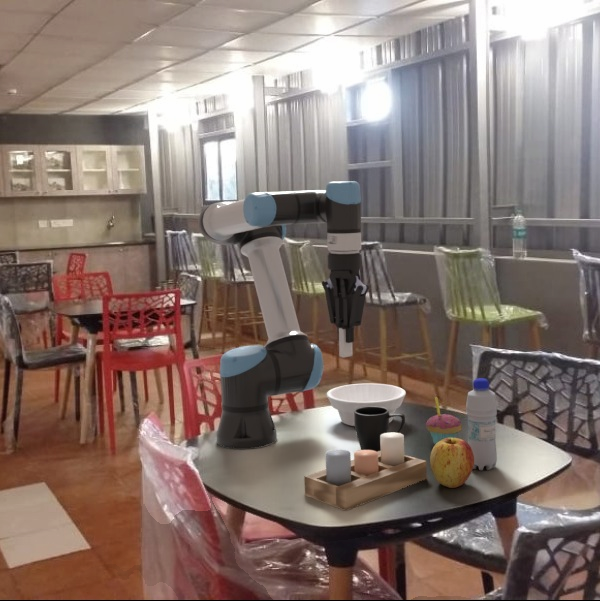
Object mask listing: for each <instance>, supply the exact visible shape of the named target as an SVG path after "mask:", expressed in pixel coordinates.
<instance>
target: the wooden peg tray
mask: <svg viewBox="0 0 600 601" xmlns="http://www.w3.org/2000/svg"><path fill="white" fill-rule="evenodd" d="M378 467H379V472H377V473H374V474H371V475H368V476H365V475H362V474H359V473H356V472H355V470H354V459H352V460H351V482H349V483H346V484H344V485H341V486H336V485H333V484H330V483H327V481H326V468H325V469H322V470H319V471H317V472H313V473H310V474H307V475H305V476H304V475H303V476H304V479H303V480H304V496H307V497H309V498H312V499H314V500H317V501H319V502H322V503H325V504H326V505H330V506H333V507H334V508H337V509H341V510H344V511H349V510H351V509H353V508H354V509H355V508H356V507H359V506H362V505H365V504H366V503H367V504H368V503H369V502H372V501H374V500H376V499H379V498H382V497H384V496H388V495H389V494H390V495H391V494H393V493H395V492H398V491H400V490H403V489H404V488H407V486H408V487H410V486H413V485H415V484H418V483H420V482H419V481H421V482H422V480H423V481H426V480H427V474H428V473H427V460H424V459H421V458H417V457H413V456H410V455H406V454H404V463H402V464H399V465H396V466H390V465H387V464H384V463H381V451H378ZM425 479H426V480H425ZM417 482H418V483H417ZM414 483H415V484H414ZM412 484H413V485H412ZM409 485H410V486H409ZM402 488H403V489H402ZM397 490H398V491H397Z"/></svg>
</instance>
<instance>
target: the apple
mask: <svg viewBox="0 0 600 601" xmlns="http://www.w3.org/2000/svg"><path fill="white" fill-rule="evenodd" d="M429 461H430V462H429V463H430V464H429V465H430V468H431V471H432V473H433V476H434V478H435V479H436V481H437V482H438V483H439V484H441V485H442V486H444V487H446V488H449V489H454V488H459V487H462V485H463V484H465V483H466V481H467V480H468V479H469V478H470V476H471V474H472V472H473V470H474V469H473V466H474V455H473V451H472V449H471V447H470V445H469V444H468V441H466V440H464V439H461V438H458V437H456V438H445V439H443V440H441V441H439V442H438V443H436V444H434V446H433V448H432V450H431V452H430V458H429Z"/></svg>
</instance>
